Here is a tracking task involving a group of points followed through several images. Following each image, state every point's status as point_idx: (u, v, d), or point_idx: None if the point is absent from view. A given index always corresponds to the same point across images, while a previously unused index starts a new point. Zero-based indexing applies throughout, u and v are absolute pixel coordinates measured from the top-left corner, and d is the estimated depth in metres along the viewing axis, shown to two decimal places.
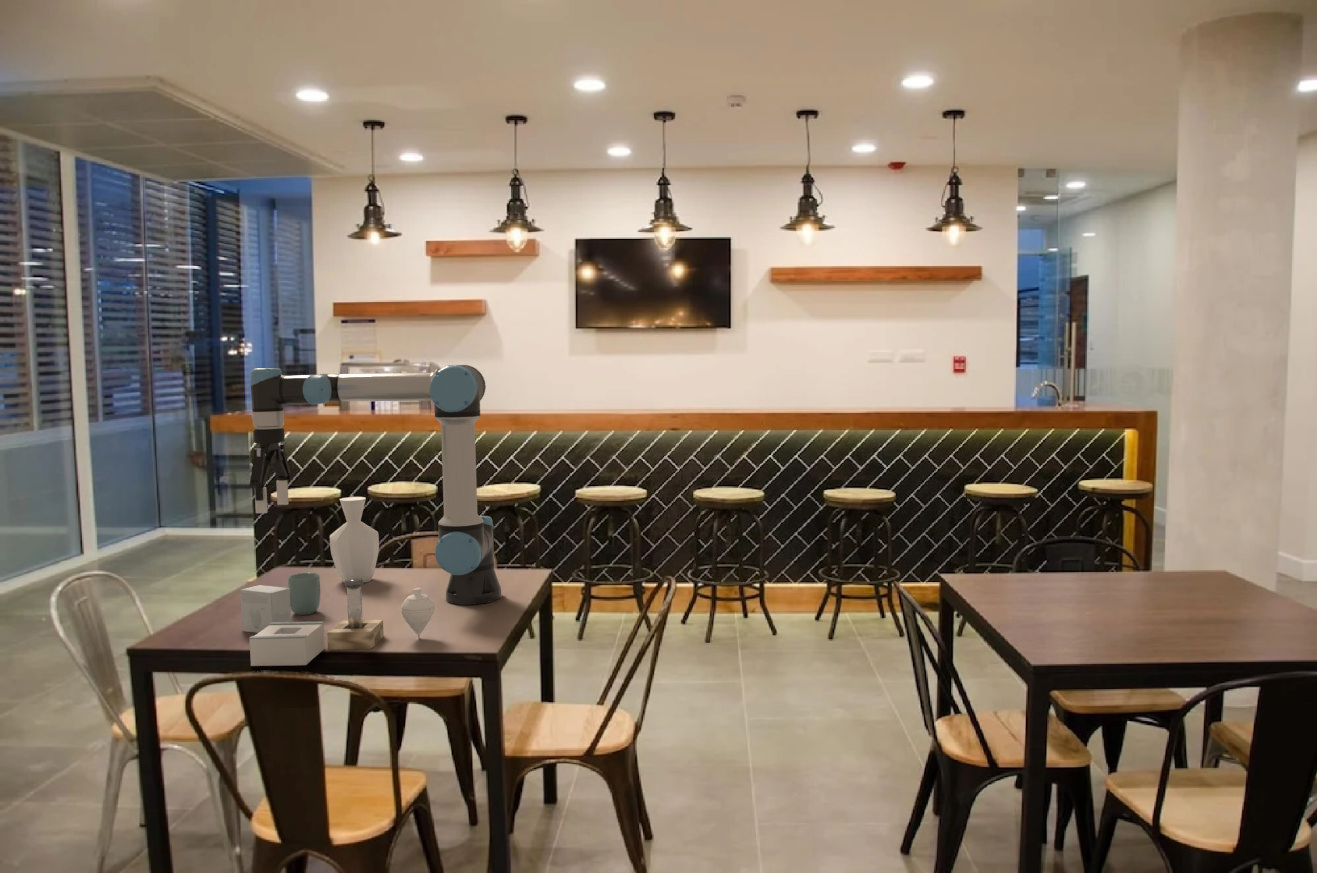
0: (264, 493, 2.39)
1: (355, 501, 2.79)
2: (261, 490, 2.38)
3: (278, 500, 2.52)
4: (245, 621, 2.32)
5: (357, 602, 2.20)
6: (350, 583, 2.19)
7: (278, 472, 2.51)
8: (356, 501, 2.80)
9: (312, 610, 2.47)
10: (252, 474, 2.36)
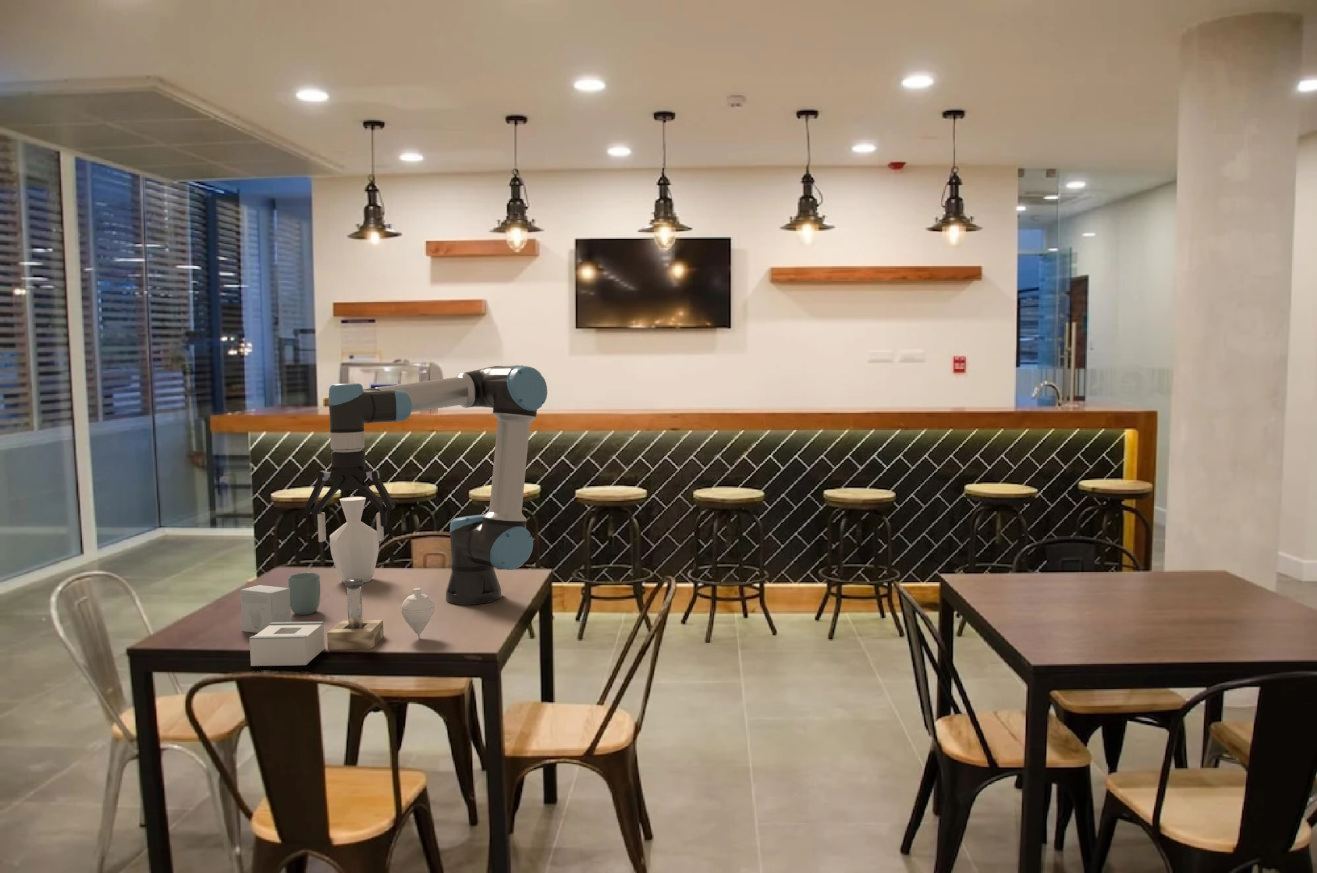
0: None
1: (355, 501, 2.79)
2: (315, 516, 2.19)
3: None
4: (245, 621, 2.32)
5: (357, 602, 2.20)
6: (350, 583, 2.19)
7: None
8: (356, 501, 2.80)
9: (312, 610, 2.47)
10: None
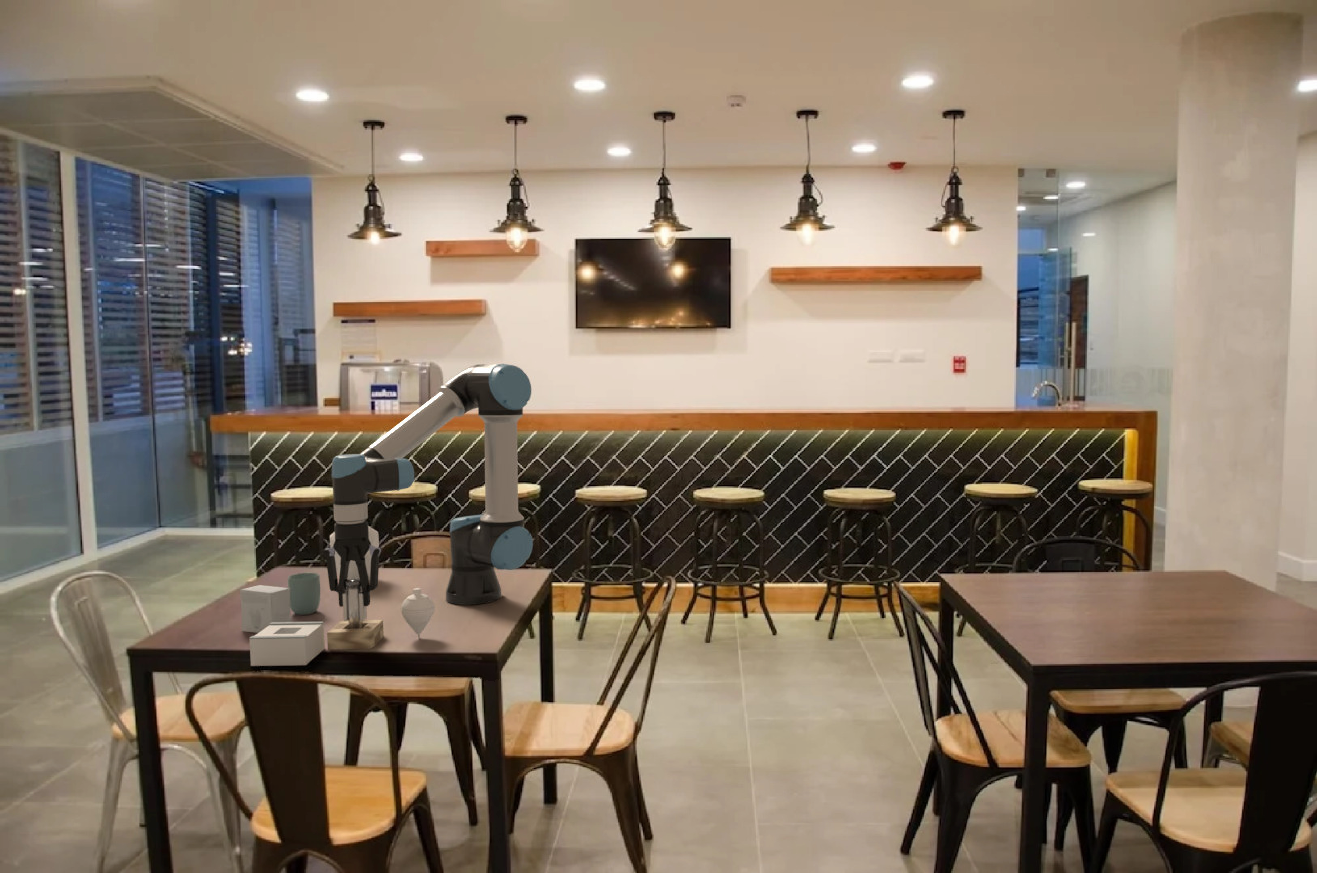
0: None
1: None
2: (340, 596, 2.20)
3: None
4: (245, 621, 2.32)
5: (357, 602, 2.20)
6: (350, 583, 2.19)
7: None
8: None
9: (312, 610, 2.47)
10: None
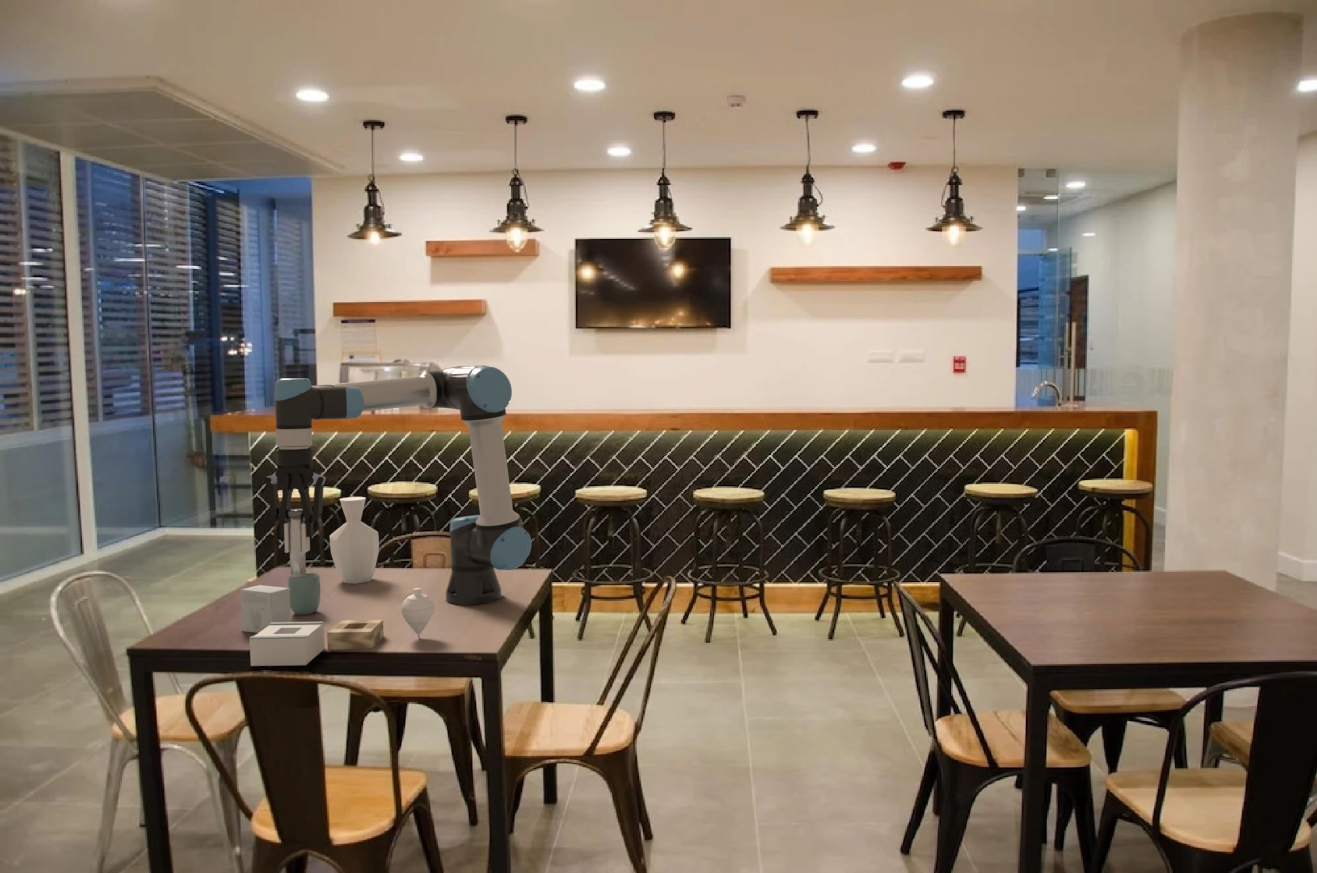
0: None
1: (355, 501, 2.79)
2: (282, 526, 2.11)
3: None
4: (245, 621, 2.32)
5: (299, 532, 2.10)
6: (292, 512, 2.09)
7: None
8: (356, 501, 2.80)
9: (312, 610, 2.47)
10: None
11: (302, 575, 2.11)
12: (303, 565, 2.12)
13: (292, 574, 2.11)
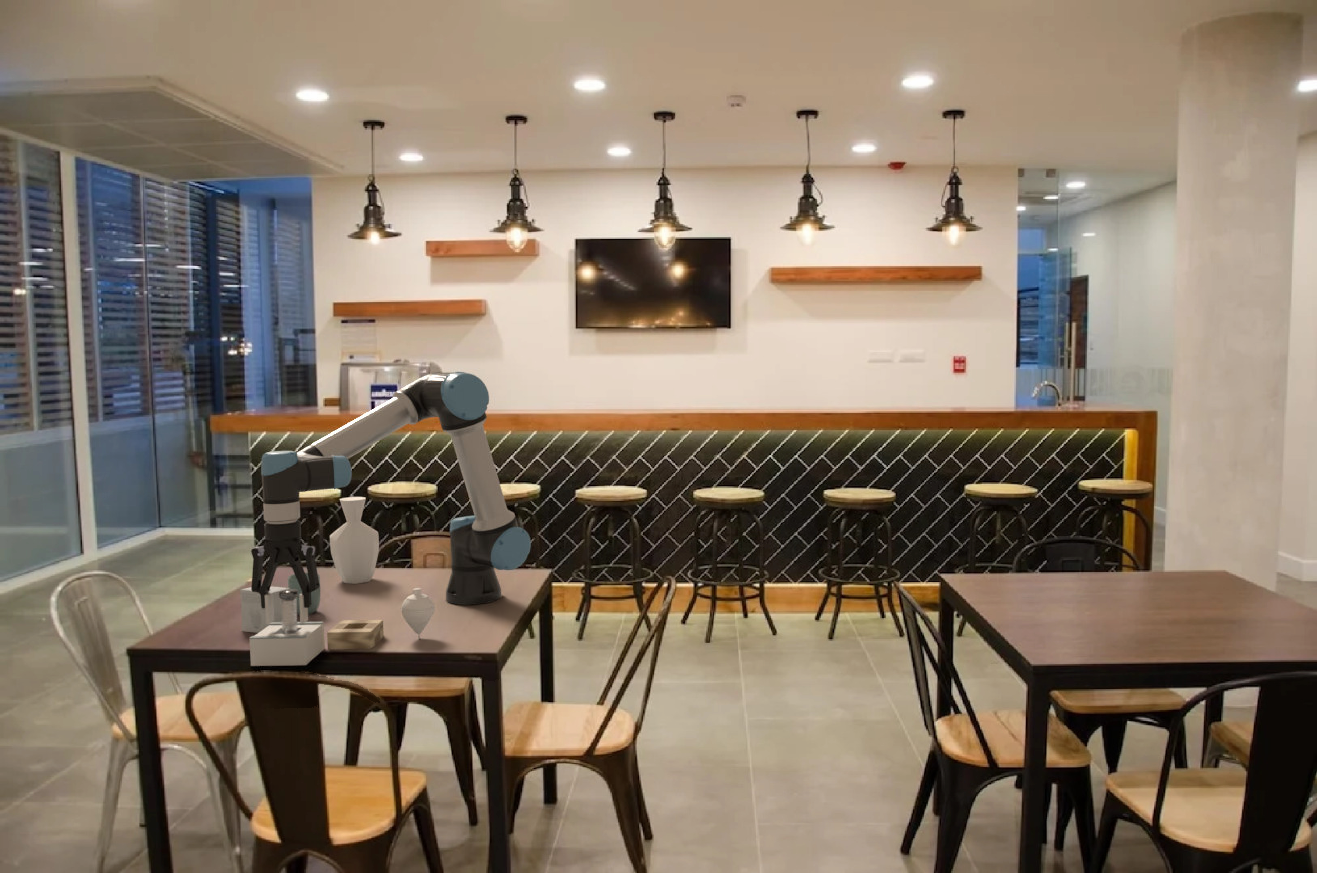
0: None
1: (355, 501, 2.79)
2: (263, 597, 2.10)
3: None
4: (245, 621, 2.32)
5: (291, 614, 2.10)
6: (284, 594, 2.09)
7: None
8: (356, 501, 2.80)
9: (312, 610, 2.47)
10: None
11: None
12: None
13: None
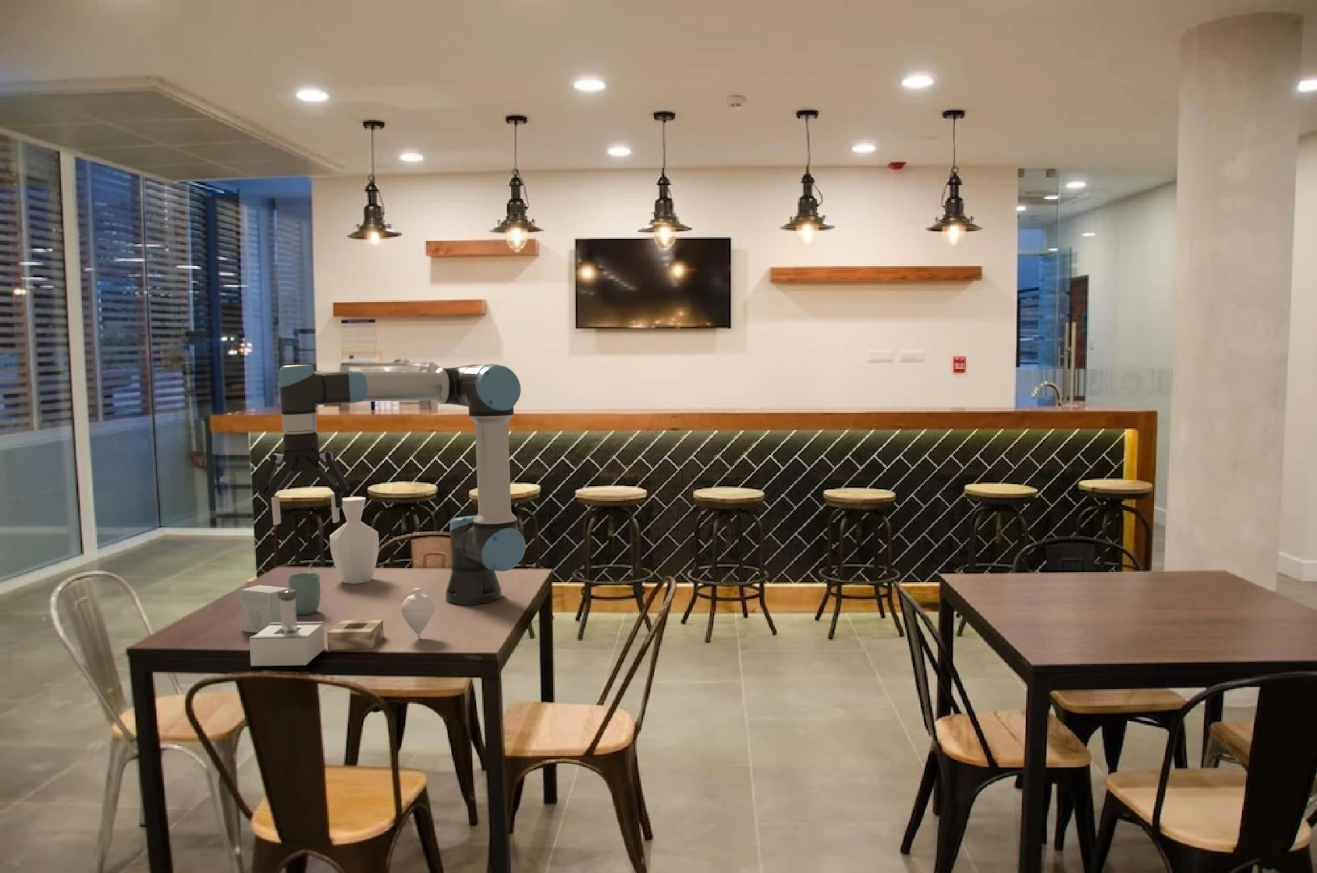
0: None
1: (355, 501, 2.79)
2: (269, 499, 2.18)
3: None
4: (245, 621, 2.32)
5: (290, 614, 2.10)
6: (283, 595, 2.09)
7: None
8: (356, 501, 2.80)
9: (312, 610, 2.47)
10: None
11: None
12: None
13: None
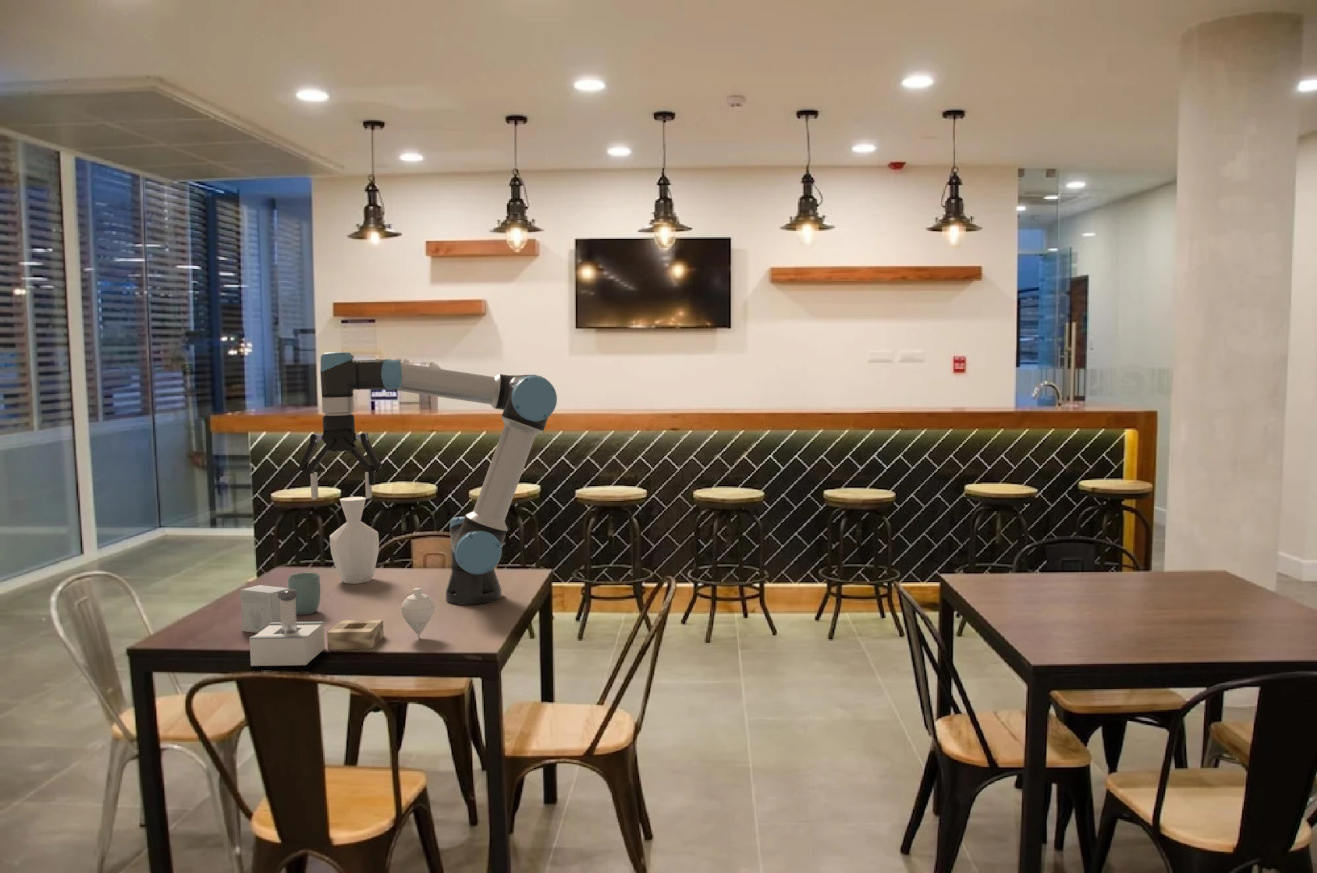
0: None
1: (355, 501, 2.80)
2: (308, 476, 2.36)
3: None
4: (245, 621, 2.32)
5: (290, 614, 2.10)
6: (283, 595, 2.09)
7: None
8: (356, 501, 2.80)
9: (312, 610, 2.47)
10: None
11: None
12: None
13: None
